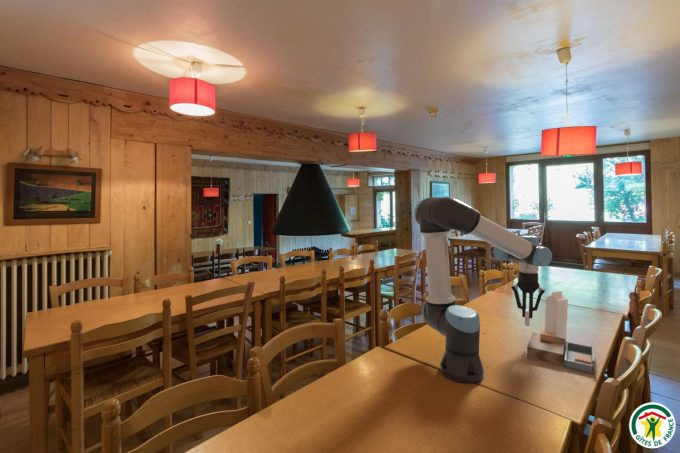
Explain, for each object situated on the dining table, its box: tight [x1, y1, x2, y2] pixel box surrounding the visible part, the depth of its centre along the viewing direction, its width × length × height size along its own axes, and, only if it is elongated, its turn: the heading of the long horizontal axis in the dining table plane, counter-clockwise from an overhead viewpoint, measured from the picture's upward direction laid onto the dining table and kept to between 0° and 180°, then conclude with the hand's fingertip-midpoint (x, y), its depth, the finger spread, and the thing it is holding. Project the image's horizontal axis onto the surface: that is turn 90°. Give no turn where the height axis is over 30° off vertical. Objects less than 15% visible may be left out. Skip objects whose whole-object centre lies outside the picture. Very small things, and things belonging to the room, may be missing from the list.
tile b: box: [539, 329, 555, 342], centre depth 142 cm, size 5×5×2 cm
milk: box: [544, 290, 569, 342], centre depth 152 cm, size 6×6×22 cm
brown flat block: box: [526, 332, 566, 367], centre depth 139 cm, size 12×18×4 cm, turn 144°
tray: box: [563, 341, 596, 375], centre depth 132 cm, size 9×20×5 cm, turn 144°
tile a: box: [575, 354, 591, 365], centre depth 128 cm, size 5×5×2 cm
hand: (527, 324), depth 146 cm, fingers closed
